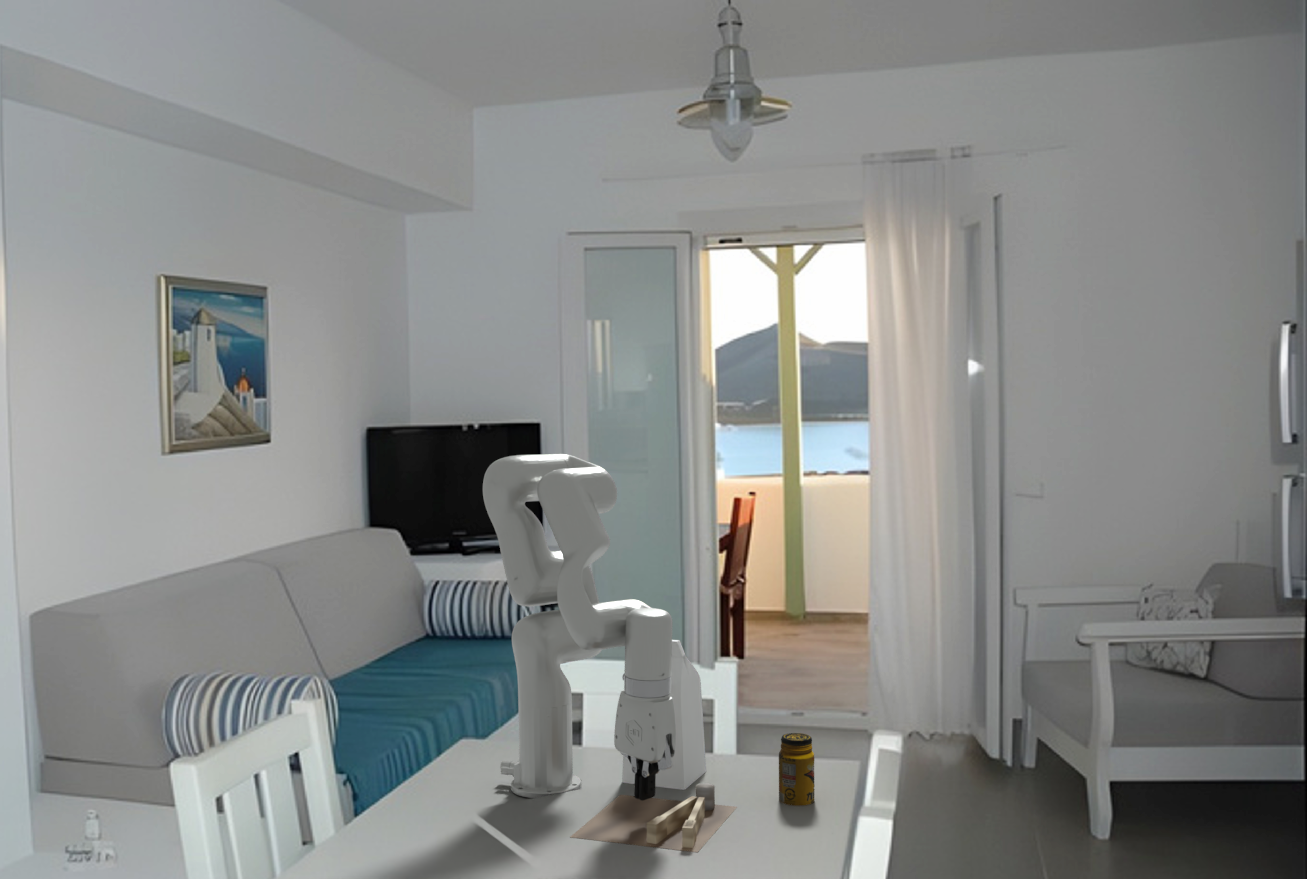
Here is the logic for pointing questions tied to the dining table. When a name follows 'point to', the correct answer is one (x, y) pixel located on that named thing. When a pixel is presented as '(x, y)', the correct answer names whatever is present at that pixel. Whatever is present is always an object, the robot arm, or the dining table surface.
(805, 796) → the condiment
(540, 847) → the dining table surface
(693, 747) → the milk
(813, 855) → the dining table surface
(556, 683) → the robot arm
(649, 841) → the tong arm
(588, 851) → the dining table surface
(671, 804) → the board
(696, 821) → the beige long slender part
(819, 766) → the dining table surface
